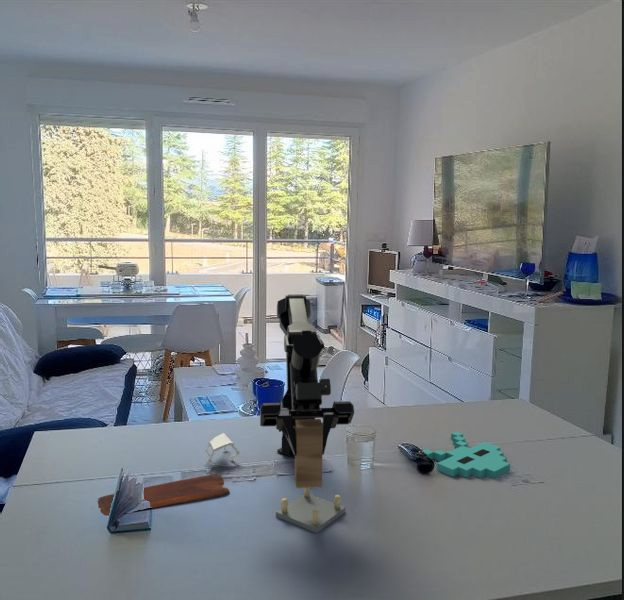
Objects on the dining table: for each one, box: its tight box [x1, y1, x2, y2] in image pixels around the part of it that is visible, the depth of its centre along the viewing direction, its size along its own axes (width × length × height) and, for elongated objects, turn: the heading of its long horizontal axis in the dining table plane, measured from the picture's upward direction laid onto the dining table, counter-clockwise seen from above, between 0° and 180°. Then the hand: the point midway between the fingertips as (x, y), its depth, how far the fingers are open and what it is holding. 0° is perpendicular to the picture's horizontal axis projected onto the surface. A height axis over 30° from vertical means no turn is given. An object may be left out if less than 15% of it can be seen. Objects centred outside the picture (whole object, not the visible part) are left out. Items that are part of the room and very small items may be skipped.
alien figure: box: [422, 430, 511, 480], centre depth 148 cm, size 20×2×20 cm
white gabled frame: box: [204, 432, 241, 466], centre depth 146 cm, size 12×8×5 cm
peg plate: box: [275, 487, 346, 534], centre depth 121 cm, size 10×10×4 cm
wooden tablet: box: [97, 474, 231, 516], centre depth 128 cm, size 27×10×2 cm, turn 114°
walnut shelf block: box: [294, 418, 323, 489], centre depth 119 cm, size 4×5×12 cm
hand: (309, 454), depth 118 cm, fingers closed on walnut shelf block, 5 cm apart
